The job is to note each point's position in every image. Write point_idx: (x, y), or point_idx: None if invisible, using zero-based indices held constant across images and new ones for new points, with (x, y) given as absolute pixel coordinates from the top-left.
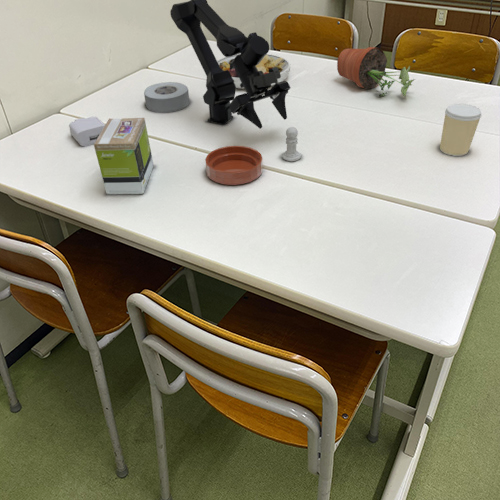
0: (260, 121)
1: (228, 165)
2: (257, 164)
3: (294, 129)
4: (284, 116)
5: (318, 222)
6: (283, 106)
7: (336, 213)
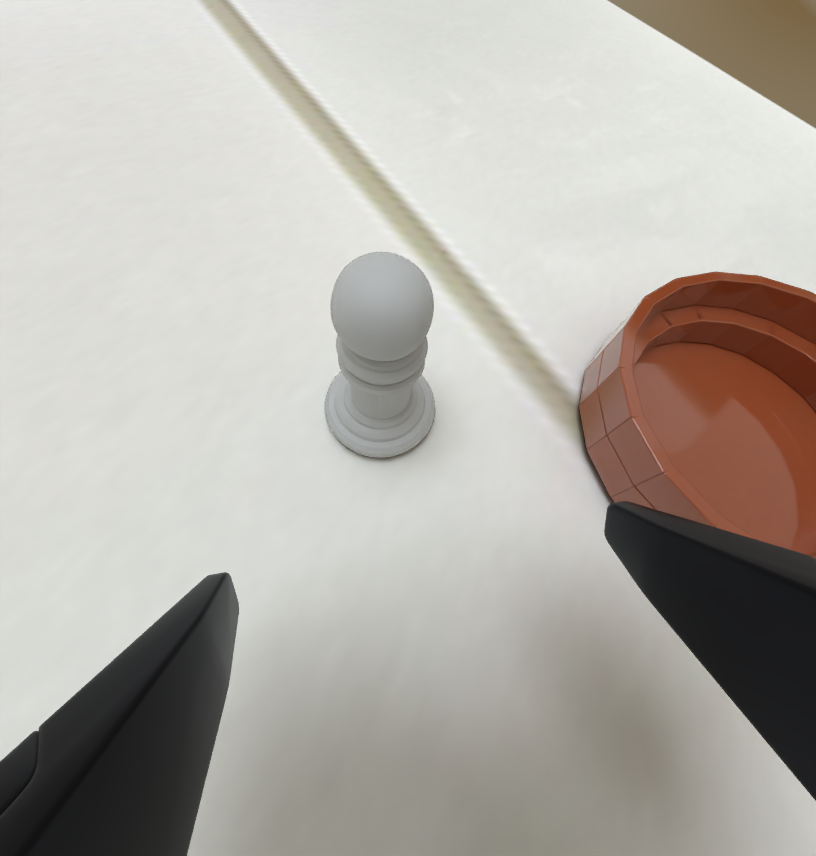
0: (662, 528)
1: (755, 501)
2: (668, 288)
3: (376, 252)
4: (222, 609)
5: (524, 102)
6: (99, 719)
7: (458, 101)
